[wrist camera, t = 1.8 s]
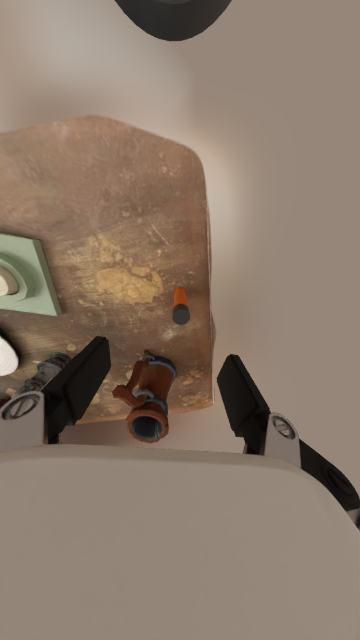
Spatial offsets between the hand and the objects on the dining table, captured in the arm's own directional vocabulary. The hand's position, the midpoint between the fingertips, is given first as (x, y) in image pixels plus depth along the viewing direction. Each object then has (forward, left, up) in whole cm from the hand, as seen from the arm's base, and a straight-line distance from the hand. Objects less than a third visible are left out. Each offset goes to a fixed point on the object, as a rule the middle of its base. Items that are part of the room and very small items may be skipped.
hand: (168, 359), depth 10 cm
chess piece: (+24, -28, -19) cm, 41 cm away
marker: (0, +1, -18) cm, 18 cm away
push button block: (+2, -30, -18) cm, 35 cm away
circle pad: (+2, -30, -16) cm, 34 cm away
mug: (+21, -3, -19) cm, 28 cm away
